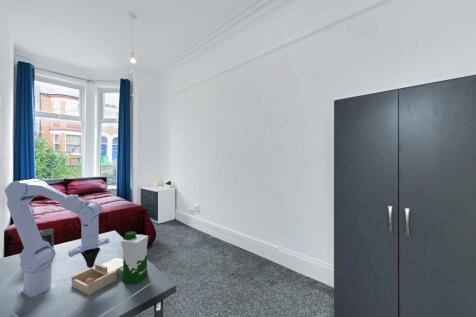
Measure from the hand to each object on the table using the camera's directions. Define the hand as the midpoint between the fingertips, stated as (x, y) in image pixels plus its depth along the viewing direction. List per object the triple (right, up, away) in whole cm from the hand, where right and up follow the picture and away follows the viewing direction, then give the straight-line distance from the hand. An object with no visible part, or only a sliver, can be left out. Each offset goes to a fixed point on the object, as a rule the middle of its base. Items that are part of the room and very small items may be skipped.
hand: (90, 266), depth 87 cm
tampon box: (-39, -8, +21) cm, 45 cm away
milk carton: (+16, -8, +5) cm, 19 cm away
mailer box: (+1, -8, +1) cm, 8 cm away
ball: (0, -8, 0) cm, 8 cm away
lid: (+4, -4, +8) cm, 10 cm away
